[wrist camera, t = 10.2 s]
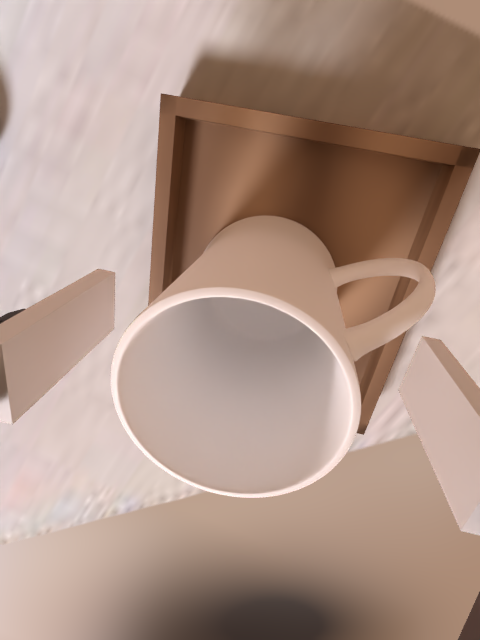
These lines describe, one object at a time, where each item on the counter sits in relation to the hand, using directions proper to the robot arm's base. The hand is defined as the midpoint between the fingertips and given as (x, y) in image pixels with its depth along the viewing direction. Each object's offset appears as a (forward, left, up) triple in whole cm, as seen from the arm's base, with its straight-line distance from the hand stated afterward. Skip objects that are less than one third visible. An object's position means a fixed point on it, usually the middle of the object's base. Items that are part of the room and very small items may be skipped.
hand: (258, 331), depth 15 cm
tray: (0, 0, -8) cm, 8 cm away
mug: (+1, 0, -7) cm, 8 cm away
